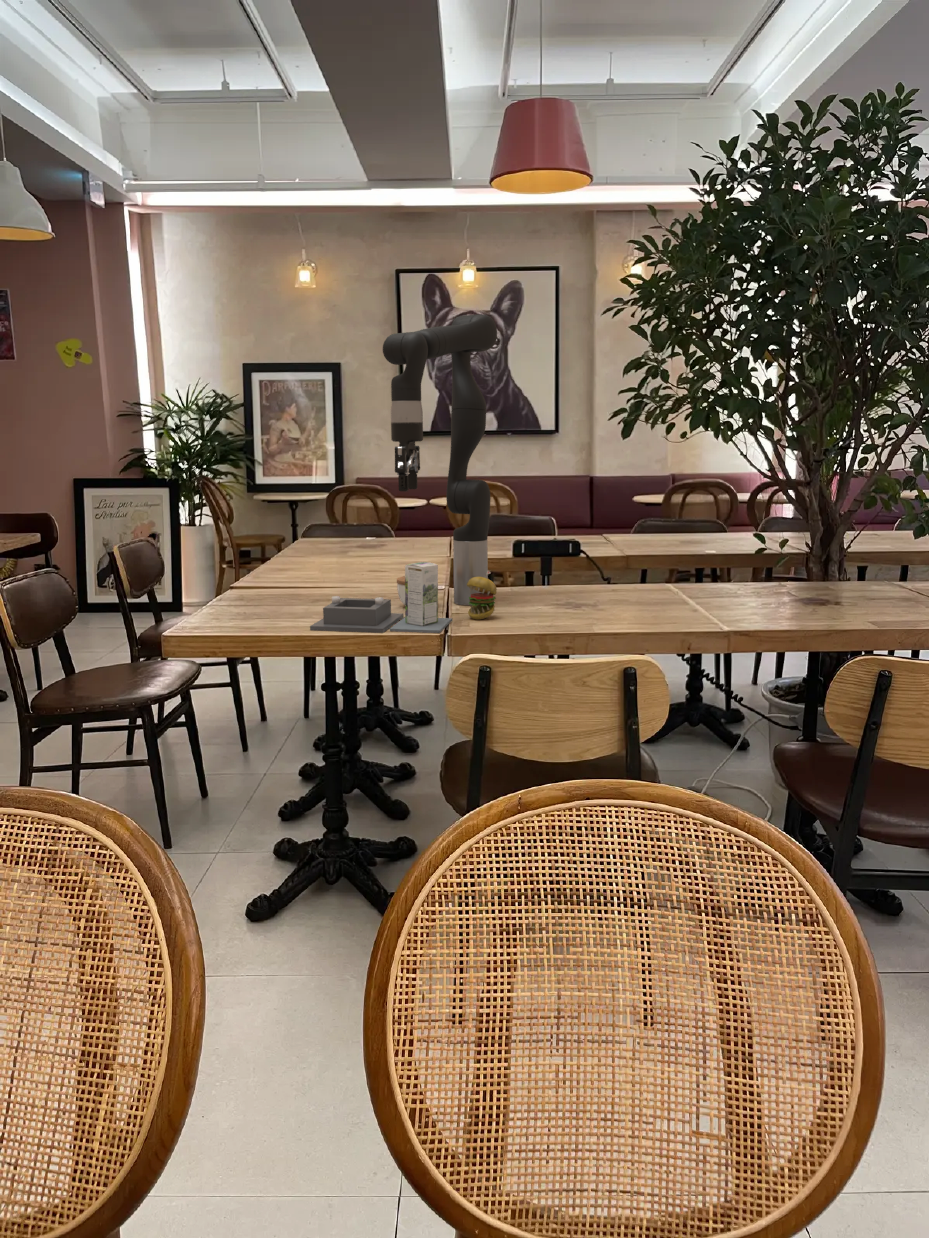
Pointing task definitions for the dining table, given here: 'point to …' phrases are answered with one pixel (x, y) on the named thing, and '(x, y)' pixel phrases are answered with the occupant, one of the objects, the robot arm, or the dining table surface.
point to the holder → (357, 615)
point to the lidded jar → (401, 588)
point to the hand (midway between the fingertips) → (408, 490)
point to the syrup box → (421, 593)
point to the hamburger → (481, 597)
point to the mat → (430, 628)
